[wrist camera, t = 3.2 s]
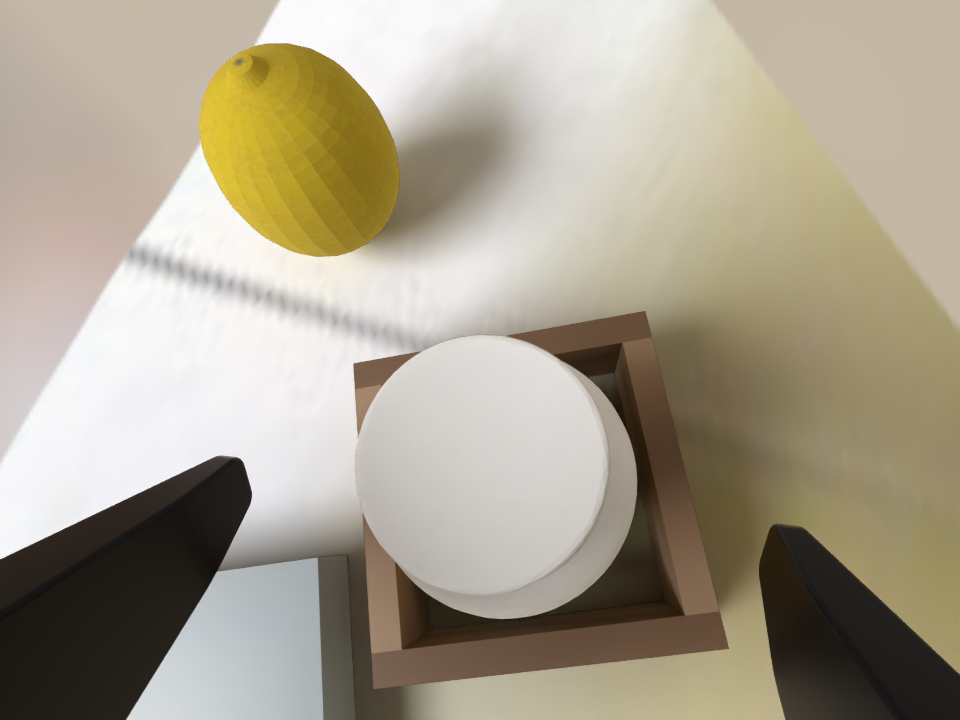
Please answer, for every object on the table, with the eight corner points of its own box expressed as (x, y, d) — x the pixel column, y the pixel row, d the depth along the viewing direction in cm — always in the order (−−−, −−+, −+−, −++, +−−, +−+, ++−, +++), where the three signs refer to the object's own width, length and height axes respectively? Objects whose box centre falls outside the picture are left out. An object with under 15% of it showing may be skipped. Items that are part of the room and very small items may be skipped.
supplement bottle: (607, 409, 18) (644, 278, 9) (621, 588, 16) (684, 657, 7) (444, 415, 19) (322, 301, 10) (442, 587, 17) (293, 648, 8)
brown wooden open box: (700, 628, 16) (728, 648, 13) (407, 663, 17) (373, 689, 14) (633, 345, 18) (645, 310, 16) (385, 388, 19) (353, 363, 17)
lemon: (414, 152, 22) (333, -45, 15) (433, 275, 20) (351, 123, 13) (285, 184, 23) (142, 11, 15) (291, 306, 21) (133, 178, 13)
